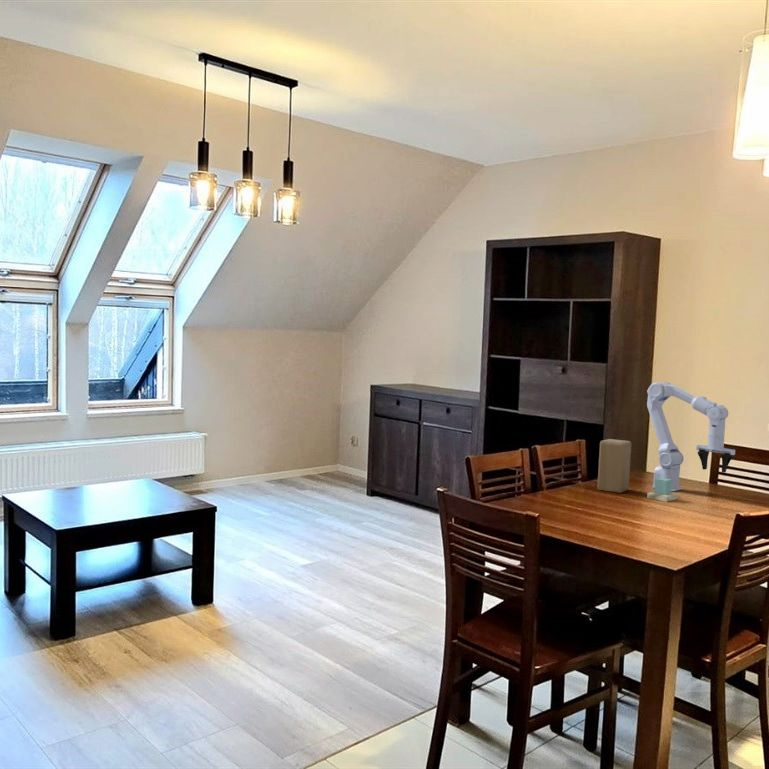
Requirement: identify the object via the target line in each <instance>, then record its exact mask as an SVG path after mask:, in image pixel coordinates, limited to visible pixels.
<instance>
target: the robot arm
mask: <svg viewBox="0 0 769 769" xmlns="http://www.w3.org/2000/svg"><path fill="white" fill-rule="evenodd" d="M646 392H647V402H646V407H647V410H648V413H649V417H650V420H651V422H652V425H653V429H654V432H655V435H656V437H657V441H658V444H659V448H658V450H657V452H658V463H659V464H660V465H657V466H655V469H654V472H653V484H652V488H653V489H654V488H655V479H657V478H665V479H671V480H672V484H671V492H676V491H681V490H683V489H684V488H683V487H680V471H681V470H680V469H681V465H682V464H683V462H684V458H685V457H684V455H683V453H682V452H681V450H680V449H679V447H678V446H677V445H676V444H675V443H674V441H673V437H672V434H671V431H670V428H669V426H668V422H667V419H666V416H665V413H664V410H663V405H664V404H665V402H666V401H667V400H668V399H670V398H671V397H675V398H677V399H679V400H681V401H684V402H685V403H687V404H690V405H691V407H692V409H693V410H695V411H696V412H699V413H701V414H703V415H705V416H706V417H707V418H708V420H709V424H708V437H707V445H700V444H698V445H696V449H695V450H696V451H697V455H698V456H699V460H700V463H701V466H702V470H708V469H707V468H708V458H709V454H710V452H711V453H716V454H721V455H720V456H721V461H722V464H721V473H722V474H723V473H724V474H725V473H726V472H727V469H728V467H729V464H730V462H731V460H733V457H734V456H735V455H736V449H731V448H726V447H725V446H724V444H725V434H726V433H725V431H726V419H727V418H728V417H729V410H728V408H727V407H726V406H725V405H718V403H717V402H713V401H711V400H709V399H707V397H706V396H704V395H701V396H700V395H698V396H694V394H691V393H690V392H688V391H686V390H684V389H682V388H680V387H678V385H676V384H672V383H670V382H667V381H665V382H653V383H651V384H650V385H649V386H648V389H647V390H646Z"/></svg>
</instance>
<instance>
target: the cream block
mask: <svg viewBox="0 0 769 769" xmlns="http://www.w3.org/2000/svg"><path fill="white" fill-rule="evenodd" d="M646 498H647V499H652V500H657V501H662V502H671V501H675V500H676V501H677V499H678V494H677V493H674V492H671V494H668V495H662V494H657V493H654V490H653V491H650V492H647V497H646Z"/></svg>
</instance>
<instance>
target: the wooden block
mask: <svg viewBox="0 0 769 769" xmlns="http://www.w3.org/2000/svg"><path fill="white" fill-rule="evenodd" d="M631 455H632V442H631V441H630V440H623V439H613V438H608V439H604V440H600V442H599V454H598V474H597V490H598V491H602V490H603V492H609V491H610V492H611V493H615V494H616V493H617V494H622V493H624V492H626V491H629V487H630V474H631V458H632V457H631ZM610 492H609V493H610Z"/></svg>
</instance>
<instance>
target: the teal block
mask: <svg viewBox="0 0 769 769" xmlns="http://www.w3.org/2000/svg"><path fill="white" fill-rule="evenodd" d="M671 484H672V480H671V479H665V478H657V479H655V488H653V489H654V490H653V491H654V493H657V494H662V495H668V494H671V493H672V491H671Z"/></svg>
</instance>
